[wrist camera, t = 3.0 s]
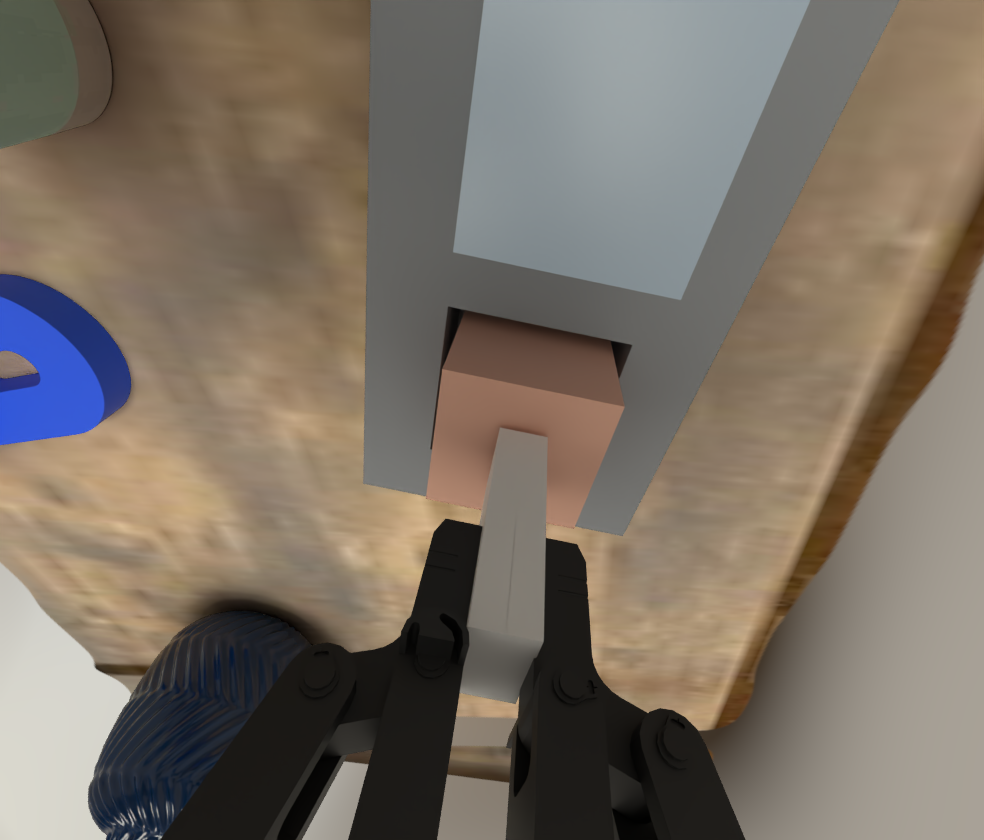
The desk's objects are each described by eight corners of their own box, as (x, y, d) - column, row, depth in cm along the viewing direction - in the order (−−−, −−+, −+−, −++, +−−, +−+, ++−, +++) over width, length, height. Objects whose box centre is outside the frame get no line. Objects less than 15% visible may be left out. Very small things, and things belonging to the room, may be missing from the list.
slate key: (512, -28, 11) (493, -78, 8) (732, 20, 11) (813, -7, 8) (477, 210, 14) (453, 252, 11) (649, 246, 15) (680, 299, 11)
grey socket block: (483, -1033, 8) (406, -2255, 4) (1186, -857, 8) (1854, -1847, 4) (393, 419, 25) (363, 483, 21) (611, 464, 26) (622, 536, 21)
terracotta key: (465, 309, 17) (442, 369, 14) (610, 339, 17) (624, 406, 14) (448, 426, 20) (425, 498, 17) (570, 451, 20) (573, 528, 17)
